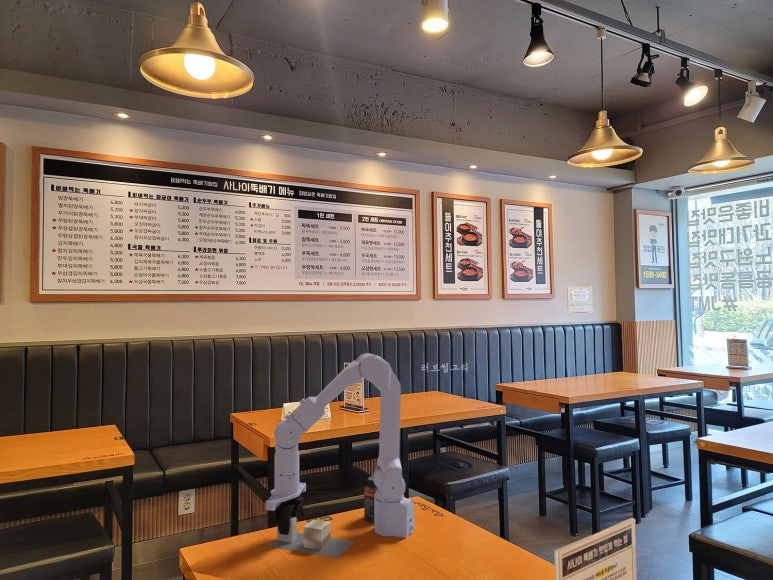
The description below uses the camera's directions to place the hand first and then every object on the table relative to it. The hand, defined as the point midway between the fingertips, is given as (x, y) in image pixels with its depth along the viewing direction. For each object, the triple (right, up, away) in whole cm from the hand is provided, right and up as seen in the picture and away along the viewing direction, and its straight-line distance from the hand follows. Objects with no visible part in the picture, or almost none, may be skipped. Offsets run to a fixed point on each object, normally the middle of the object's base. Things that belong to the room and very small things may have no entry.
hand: (286, 531), depth 123 cm
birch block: (+7, -2, -3) cm, 8 cm away
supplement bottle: (+21, -4, +13) cm, 24 cm away
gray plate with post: (+6, -3, -3) cm, 7 cm away
